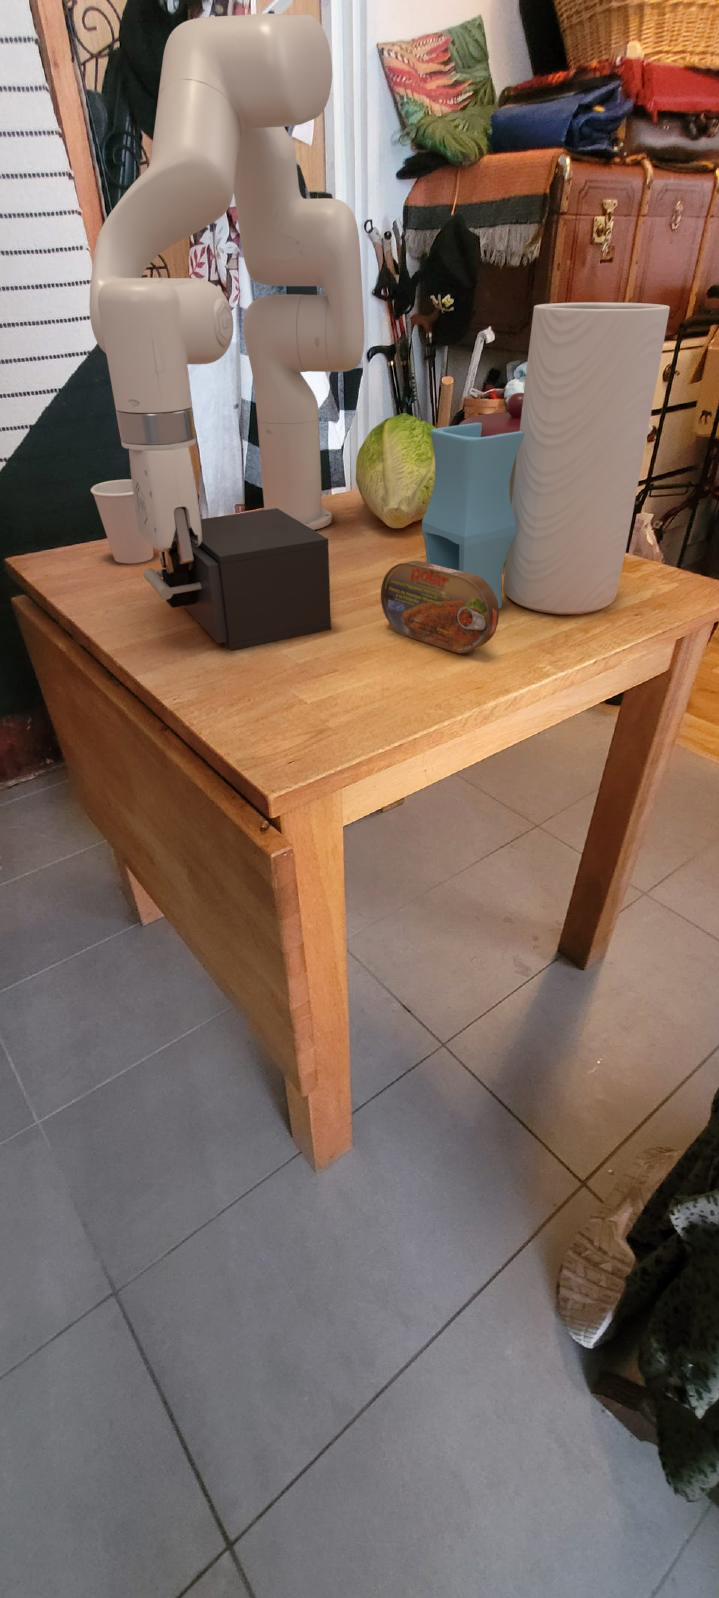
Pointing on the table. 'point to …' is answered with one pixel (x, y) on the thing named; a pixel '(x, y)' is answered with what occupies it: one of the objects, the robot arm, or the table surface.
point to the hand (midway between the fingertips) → (182, 603)
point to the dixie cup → (121, 521)
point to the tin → (439, 606)
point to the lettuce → (397, 470)
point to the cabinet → (269, 576)
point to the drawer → (199, 593)
